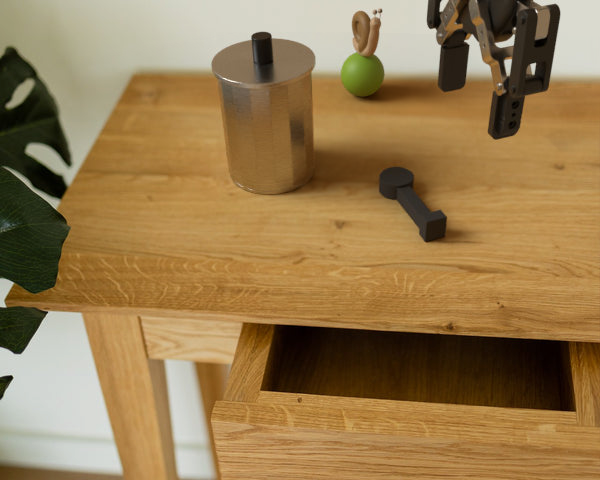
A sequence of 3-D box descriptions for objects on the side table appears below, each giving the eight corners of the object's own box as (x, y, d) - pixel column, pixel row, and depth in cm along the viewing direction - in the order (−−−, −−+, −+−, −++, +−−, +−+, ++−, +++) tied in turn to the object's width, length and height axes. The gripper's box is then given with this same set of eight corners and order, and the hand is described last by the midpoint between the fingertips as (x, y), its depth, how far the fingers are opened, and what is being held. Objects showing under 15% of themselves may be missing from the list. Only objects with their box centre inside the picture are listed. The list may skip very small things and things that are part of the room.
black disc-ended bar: (404, 177, 82) (405, 158, 81) (451, 235, 74) (454, 215, 73) (373, 185, 81) (374, 165, 80) (418, 243, 74) (419, 223, 72)
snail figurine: (356, 111, 93) (357, 14, 85) (333, 90, 98) (332, -4, 90) (395, 101, 95) (399, 5, 87) (371, 80, 99) (373, -13, 91)
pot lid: (296, 41, 81) (294, 7, 79) (330, 82, 74) (330, 46, 71) (201, 59, 79) (197, 25, 77) (227, 103, 72) (223, 67, 69)
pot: (298, 141, 89) (293, 38, 80) (326, 183, 82) (324, 75, 74) (220, 158, 87) (206, 54, 78) (243, 202, 80) (230, 94, 72)
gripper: (621, -98, 45) (568, 144, 56) (498, -148, 55) (474, 65, 66) (508, -79, 43) (476, 166, 54) (403, -134, 53) (394, 82, 64)
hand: (475, 110), depth 60 cm, fingers open, 8 cm apart
